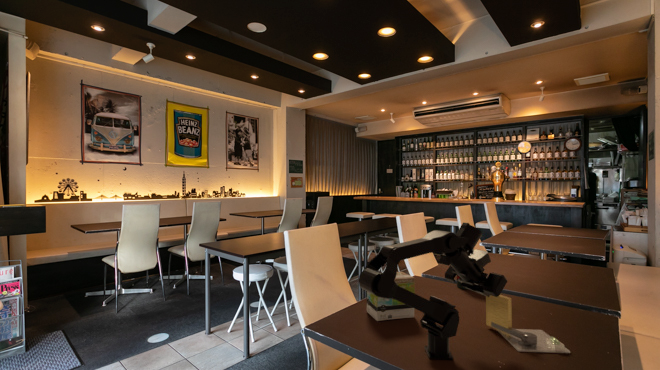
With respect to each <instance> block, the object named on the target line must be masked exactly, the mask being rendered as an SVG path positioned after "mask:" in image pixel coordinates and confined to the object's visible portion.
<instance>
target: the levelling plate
mask: <svg viewBox="0 0 660 370" xmlns="http://www.w3.org/2000/svg"><path fill="white" fill-rule="evenodd" d="M515 329H516V330H518V331H521V332H528V333H532V334H535V335H536V336H537V345H528V344H525V343H523V342H522V341H521V339H520V338H518V337H515V336H513V335H511V334H506V333H504V332H502V331H499V330H497V329H496V331H497V332H498V333H499V334H500V335H501V336H502V337H503V338H504V339H505V340H506V341H507V342H508V343H509V344H510V345H511V346H512V347H513V348H514V349H515V350H516V351H517V352H519V353H520V352H524V353H525V352H526V353H527V352H528V353H554V354H556V353H557V354H571V351H570V349H568V348H567V347H566V346H565V344H564V343H562V342H561V341H560V340H559V339H557V338H556V337H555V336H551V335H549V333H547V332H545V331H544V330H543V329H532V328H531V329H530V328H529V329H528V328H527V329H525V328H515Z"/></svg>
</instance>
